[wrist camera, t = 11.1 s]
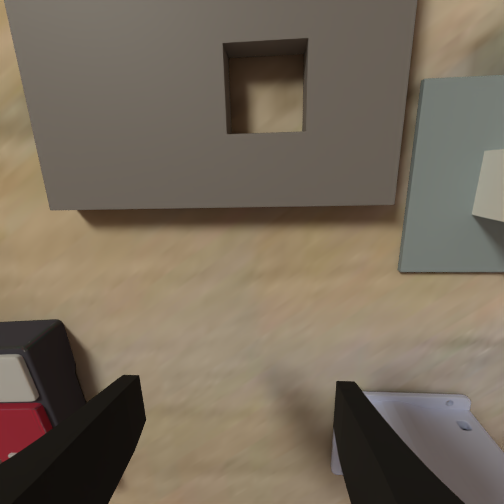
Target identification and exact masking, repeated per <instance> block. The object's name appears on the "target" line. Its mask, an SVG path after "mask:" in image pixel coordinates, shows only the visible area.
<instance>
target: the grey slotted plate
mask: <svg viewBox="0 0 504 504" xmlns="http://www.w3.org/2000/svg"><path fill="white" fill-rule="evenodd" d="M4 3H5V7H6V12H7V16H8V21H9V25H10V30H11V34H12V39H13V43H14V48H15V53H16V57H17V62H18V66H19V71H20V75H21V80H22V84H23V89H24V93H25V98H26V102H27V107H28V112H29V116H30V121H31V125H32V130H33V134H34V139H35V143H36V148H37V152H38V157H39V162H40V166H41V171H42V175H43V180H44V184H45V189H46V193H47V198H48V202H49V207H50V210H103V209H166V208H228V207H291V206H354V205H394V203H395V194H396V185H397V176H398V168H399V159H400V150H401V141H402V132H403V123H404V114H405V106H406V97H407V88H408V79H409V70H410V61H411V52H412V43H413V35H414V26H415V17H416V8H417V0H4ZM294 54H304V81H303V126H302V132H278V133H249V134H232V131H231V106H230V82H229V58H239V57H258V56H276V55H294Z"/></svg>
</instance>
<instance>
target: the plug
mask: <svg viewBox="0 0 504 504" xmlns="http://www.w3.org/2000/svg"><path fill="white" fill-rule="evenodd" d="M472 215H476V216H480V217H484V218H489V219H493V220H498V221H502V222H504V149H499V150H488V151H484V156H483V161H482V166H481V171H480V176H479V181H478V186H477V191H476V195H475V200H474V205H473V210H472Z"/></svg>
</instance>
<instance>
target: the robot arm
mask: <svg viewBox="0 0 504 504" xmlns="http://www.w3.org/2000/svg"><path fill="white" fill-rule="evenodd" d="M447 401H448V402H447ZM470 406H471V401H470V399H469V398H468V397H467V396H466V395H461V394H429V393H397V392H365V391H362V390H361V389H360V388H359V386H358V385H357V384H356V383H355V382H351V381H337V382H336V396H335V411H334V425H333V441H332V455H331V470H332V472H333V473H334V474H336V475H343V476H344V480H345V483H346V487H347V491H348V494H349V498H350V501H351V504H504V452H503V451H502V450H501V449H500V447H499V446H498V445H497V444H496V443H495V441H494V440H493V439H492V438H491V436H490V435H489V434H488V433H487V432H486V430H485V429H484V428H483V427H482V425H481V424H480V423H479V422H478V420H477V419H476V418H475V417H474V416H473V414H472V413H471V412H470V411H469V410H470ZM145 421H146V416H145V409H144V403H143V397H142V391H141V384H140V378H139V375H123V376H121V377H120V378H118V379H117V380H116V381H114V382H113V383H112V384H110V385H109V386H108V387H107V388H105V389H104V390H103V391H101V392H100V393H99V394H98V395H96V396H95V397H94V398H92V399H91V400H90V401H89V402H87V403H86V404H85V405H83V406H82V407H81V408H79V409H78V410H77V411H76V412H74V413H73V414H72V415H70V416H69V417H68V418H66V419H65V420H64V421H62V422H61V423H59V424H58V425H57V426H55V427H54V428H52V429H51V430H50V431H48V432H47V433H45V434H44V435H43V436H41V437H40V438H39V439H37V440H36V441H34V442H33V443H31V444H30V445H29V446H27V447H26V448H24V449H23V450H21V451H20V452H18V453H17V454H15V455H13V456H12V457H10V458H9V459H7V460H6V461H4V462H2V463H1V464H0V504H108V503H109V501H110V499H111V497H112V495H113V493H114V491H115V489H116V487H117V485H118V483H119V481H120V479H121V477H122V475H123V473H124V471H125V469H126V467H127V465H128V463H129V461H130V459H131V457H132V455H133V453H134V451H135V448H136V446H137V443H138V441H139V438H140V435H141V433H142V430H143V427H144V424H145Z"/></svg>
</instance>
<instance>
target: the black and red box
mask: <svg viewBox="0 0 504 504" xmlns="http://www.w3.org/2000/svg"><path fill="white" fill-rule="evenodd" d="M75 368H76V364H75V361H74V357H73V354H72V351H71V347H70V344H69V341H68V337H67V334H66V331H65V328H64V325H63V323H62V322H61V321H60V320H57V319H53V320H33V321H12V322H0V464H1V463H2V462H4V461H6V460H7V459H9V458H10V457H12V456H13V455H15V454H17V453H18V452H20V451H21V450H23V449H24V448H26V447H27V446H29V445H30V444H31V443H33V442H34V441H36V440H37V439H39V438H40V437H41V436H43V435H44V434H45V433H47V432H48V431H50V430H51V429H52V428H54V427H55V426H57V425H58V424H59V423H61V422H62V421H64V420H65V419H66V418H68V417H69V416H70V415H72V414H73V413H74V412H76V411H77V410H78V409H79V408H81V407H82V406H83V405H85V404H86V402H85V399H84V396H83V394H82V391H81V388H80V386H79V383H78V380H77V377H76V374H75Z"/></svg>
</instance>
